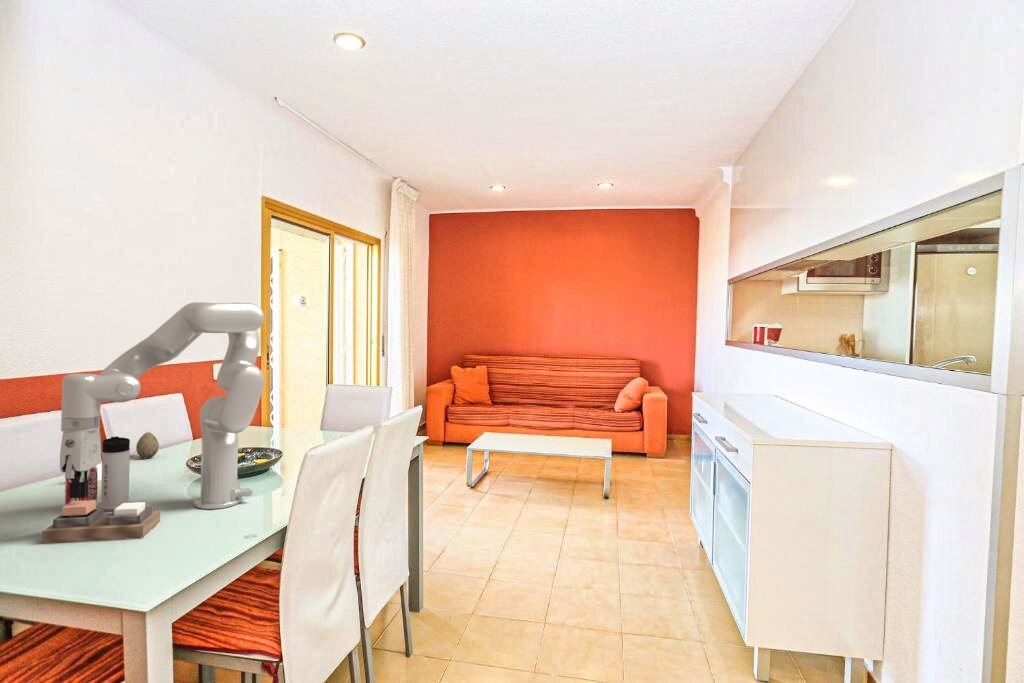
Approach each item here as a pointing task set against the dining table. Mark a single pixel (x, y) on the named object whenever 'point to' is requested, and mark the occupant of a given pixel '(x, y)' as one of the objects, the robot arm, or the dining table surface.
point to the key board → (100, 526)
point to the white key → (129, 509)
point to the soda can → (91, 488)
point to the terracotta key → (79, 507)
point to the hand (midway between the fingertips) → (78, 496)
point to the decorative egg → (147, 445)
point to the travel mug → (115, 473)
